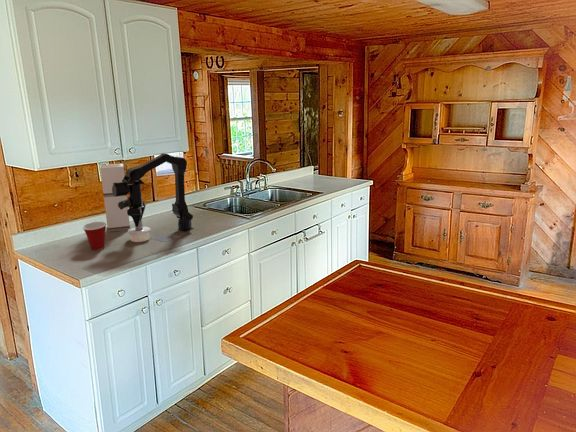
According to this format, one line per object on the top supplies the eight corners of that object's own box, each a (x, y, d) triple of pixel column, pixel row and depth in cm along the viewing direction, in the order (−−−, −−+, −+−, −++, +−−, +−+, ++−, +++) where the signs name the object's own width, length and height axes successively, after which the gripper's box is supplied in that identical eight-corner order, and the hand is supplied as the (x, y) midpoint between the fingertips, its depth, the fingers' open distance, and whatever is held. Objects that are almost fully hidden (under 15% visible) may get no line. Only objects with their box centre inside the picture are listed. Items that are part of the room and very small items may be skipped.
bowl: (142, 236, 232) (141, 227, 230) (153, 238, 227) (152, 230, 225) (127, 240, 225) (126, 232, 223) (138, 243, 219) (137, 234, 218)
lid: (141, 227, 232) (140, 217, 230) (155, 230, 226) (154, 220, 224) (123, 232, 223) (122, 222, 222) (136, 235, 217) (135, 225, 216)
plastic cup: (80, 250, 211) (76, 226, 208) (98, 243, 220) (95, 220, 217) (95, 253, 206) (92, 228, 203) (114, 246, 215) (111, 223, 212)
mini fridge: (129, 224, 254) (123, 163, 245) (130, 229, 244) (123, 166, 235) (108, 226, 250) (100, 165, 241) (108, 231, 240) (100, 167, 231)
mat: (167, 233, 235) (167, 233, 235) (181, 237, 229) (181, 236, 229) (150, 239, 226) (150, 238, 226) (164, 242, 220) (164, 242, 220)
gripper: (121, 190, 227) (125, 220, 231) (114, 198, 209) (118, 230, 213) (144, 189, 229) (147, 219, 233) (138, 197, 211) (142, 228, 215)
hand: (138, 224), depth 223 cm, fingers open, 9 cm apart
